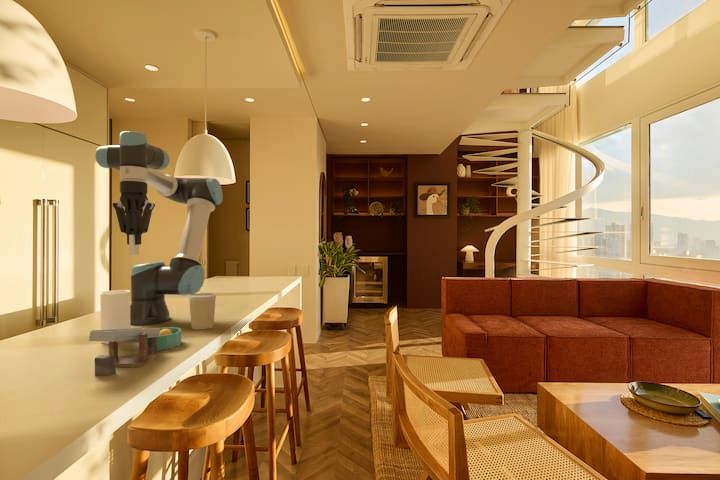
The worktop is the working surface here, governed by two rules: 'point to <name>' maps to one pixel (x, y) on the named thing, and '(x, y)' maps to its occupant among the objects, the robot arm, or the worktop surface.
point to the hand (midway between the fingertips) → (134, 254)
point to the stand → (125, 356)
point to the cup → (115, 310)
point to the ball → (165, 332)
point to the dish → (169, 339)
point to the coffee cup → (202, 310)
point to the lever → (122, 334)
